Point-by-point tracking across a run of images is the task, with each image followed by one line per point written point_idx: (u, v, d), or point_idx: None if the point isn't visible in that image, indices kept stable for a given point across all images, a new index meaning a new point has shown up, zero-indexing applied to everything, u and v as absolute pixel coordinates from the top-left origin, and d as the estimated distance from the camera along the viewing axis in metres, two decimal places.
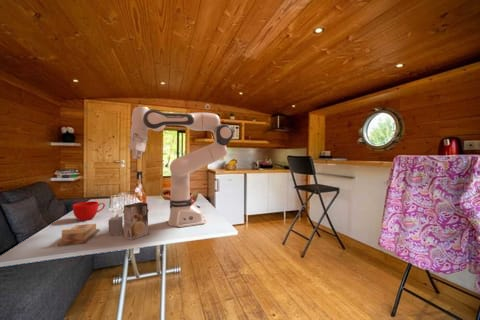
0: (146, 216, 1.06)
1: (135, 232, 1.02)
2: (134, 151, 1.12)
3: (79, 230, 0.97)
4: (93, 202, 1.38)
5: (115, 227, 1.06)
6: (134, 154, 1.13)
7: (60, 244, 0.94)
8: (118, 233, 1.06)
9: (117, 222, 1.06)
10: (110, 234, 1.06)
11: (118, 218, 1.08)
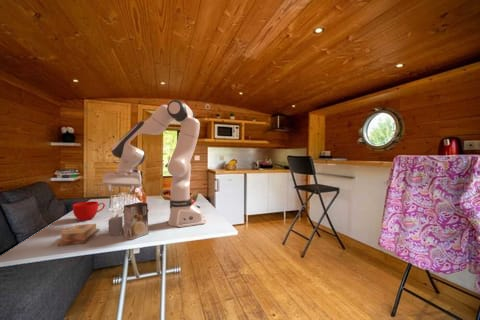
0: (146, 216, 1.06)
1: (135, 232, 1.02)
2: None
3: (79, 230, 0.97)
4: (93, 202, 1.38)
5: (115, 227, 1.06)
6: (109, 188, 1.18)
7: (60, 244, 0.94)
8: (118, 233, 1.06)
9: (117, 222, 1.06)
10: (110, 234, 1.06)
11: (118, 218, 1.08)
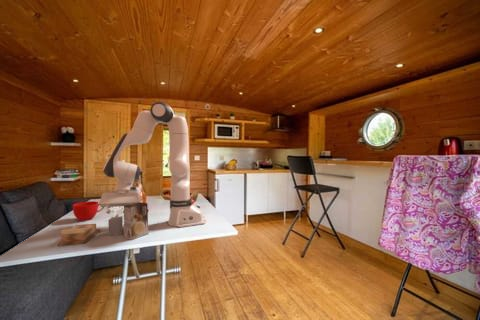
0: (146, 216, 1.06)
1: (135, 232, 1.02)
2: None
3: (79, 230, 0.97)
4: (93, 202, 1.38)
5: (115, 227, 1.06)
6: None
7: (60, 244, 0.94)
8: (118, 233, 1.06)
9: (117, 222, 1.06)
10: (110, 234, 1.06)
11: (118, 218, 1.08)
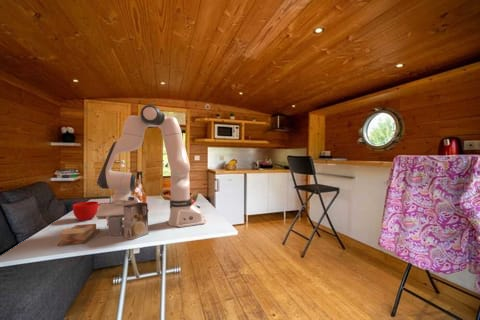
0: (146, 216, 1.06)
1: (135, 232, 1.02)
2: None
3: (79, 230, 0.97)
4: (93, 202, 1.38)
5: (115, 227, 1.06)
6: (107, 221, 1.08)
7: (60, 244, 0.94)
8: (118, 233, 1.06)
9: (117, 222, 1.06)
10: (110, 234, 1.05)
11: (118, 218, 1.08)
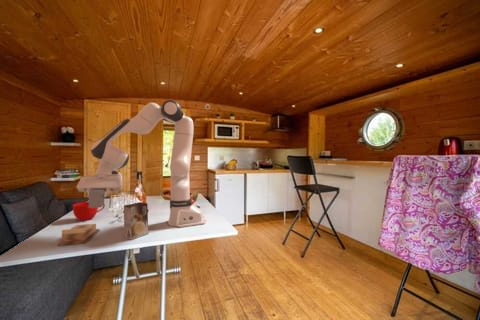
0: (146, 216, 1.06)
1: (135, 232, 1.02)
2: None
3: (79, 230, 0.97)
4: None
5: (96, 199, 1.03)
6: (88, 193, 1.05)
7: (60, 244, 0.94)
8: (99, 205, 1.03)
9: (98, 194, 1.03)
10: (90, 206, 1.02)
11: (99, 190, 1.05)
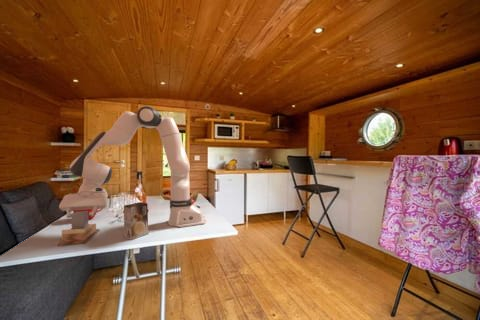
0: (146, 216, 1.06)
1: (135, 232, 1.02)
2: None
3: (79, 230, 0.97)
4: None
5: (79, 222, 1.00)
6: (67, 212, 1.02)
7: (60, 244, 0.94)
8: None
9: (81, 216, 1.00)
10: None
11: (82, 212, 1.02)
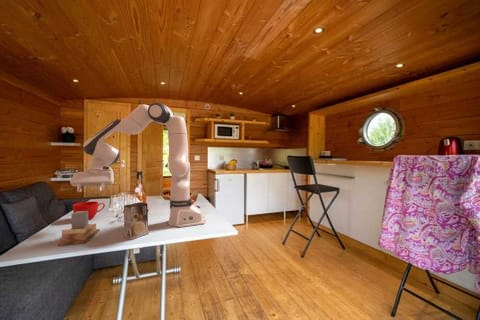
0: (146, 216, 1.06)
1: (135, 232, 1.02)
2: None
3: (79, 230, 0.97)
4: (93, 202, 1.38)
5: (79, 222, 1.00)
6: (77, 187, 1.12)
7: (60, 244, 0.94)
8: None
9: (81, 216, 1.00)
10: None
11: (82, 212, 1.02)
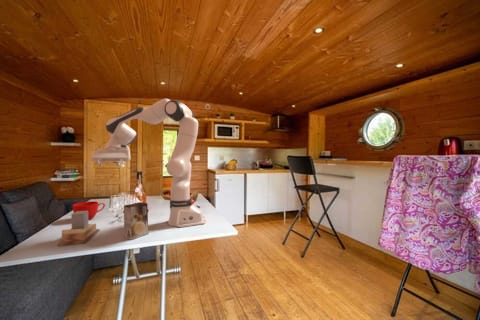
0: (146, 216, 1.06)
1: (135, 232, 1.02)
2: None
3: (79, 230, 0.97)
4: (93, 202, 1.38)
5: (79, 222, 1.00)
6: (98, 162, 1.22)
7: (60, 244, 0.94)
8: None
9: (81, 216, 1.00)
10: None
11: (82, 212, 1.02)
